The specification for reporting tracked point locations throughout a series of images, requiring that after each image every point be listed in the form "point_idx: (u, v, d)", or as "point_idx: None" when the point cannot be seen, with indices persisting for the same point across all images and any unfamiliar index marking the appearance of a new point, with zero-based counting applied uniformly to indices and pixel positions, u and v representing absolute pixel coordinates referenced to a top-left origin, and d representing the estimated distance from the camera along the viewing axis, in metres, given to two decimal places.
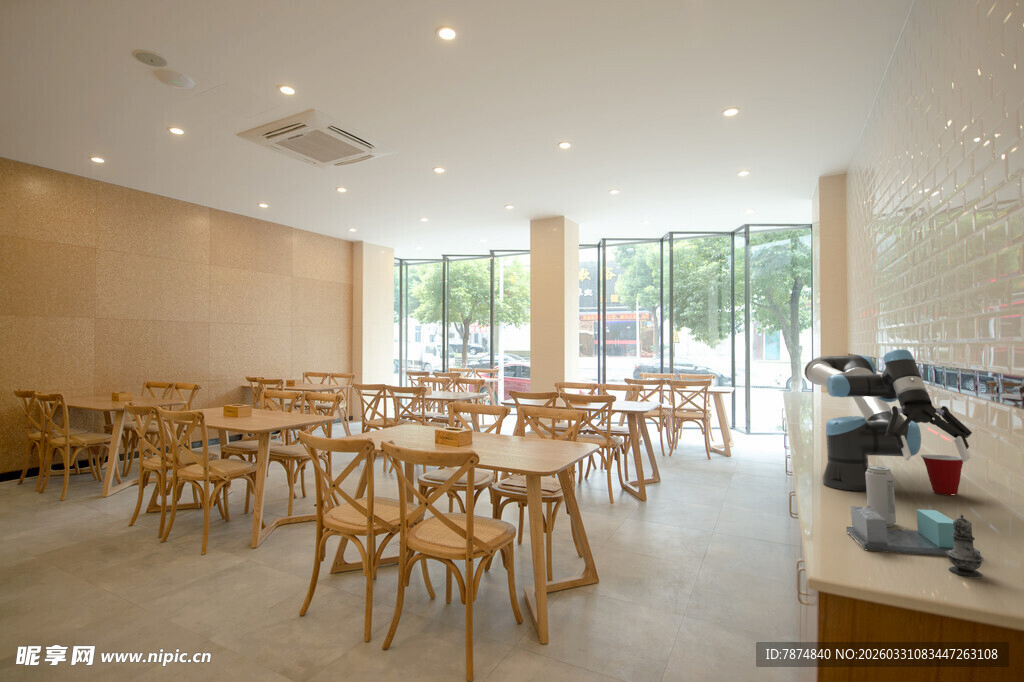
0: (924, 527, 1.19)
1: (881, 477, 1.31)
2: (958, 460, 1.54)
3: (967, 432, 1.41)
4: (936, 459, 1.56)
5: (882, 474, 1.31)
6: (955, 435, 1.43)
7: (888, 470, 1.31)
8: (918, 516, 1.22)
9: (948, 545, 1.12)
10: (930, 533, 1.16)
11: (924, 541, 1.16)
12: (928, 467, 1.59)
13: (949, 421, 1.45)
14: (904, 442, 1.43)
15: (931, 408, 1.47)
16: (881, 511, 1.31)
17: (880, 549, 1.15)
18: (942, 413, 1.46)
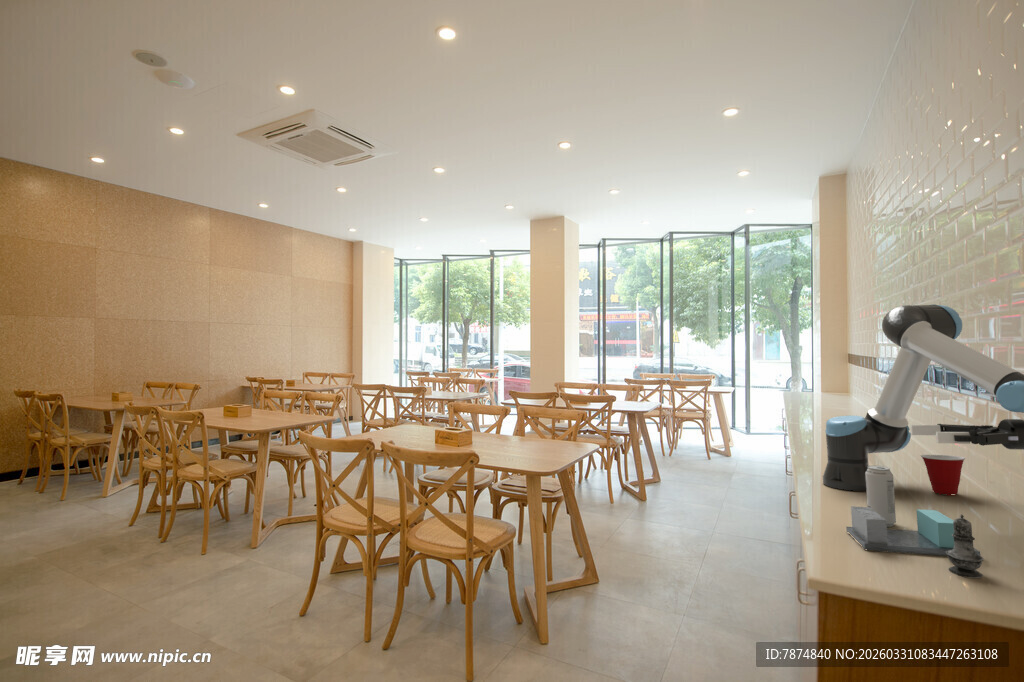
0: (924, 527, 1.19)
1: (881, 477, 1.31)
2: (958, 460, 1.54)
3: None
4: (935, 459, 1.56)
5: (882, 474, 1.31)
6: None
7: (888, 470, 1.31)
8: (918, 516, 1.22)
9: (948, 545, 1.12)
10: (930, 533, 1.16)
11: (924, 541, 1.16)
12: (928, 467, 1.59)
13: None
14: None
15: None
16: (881, 511, 1.31)
17: (880, 549, 1.15)
18: None
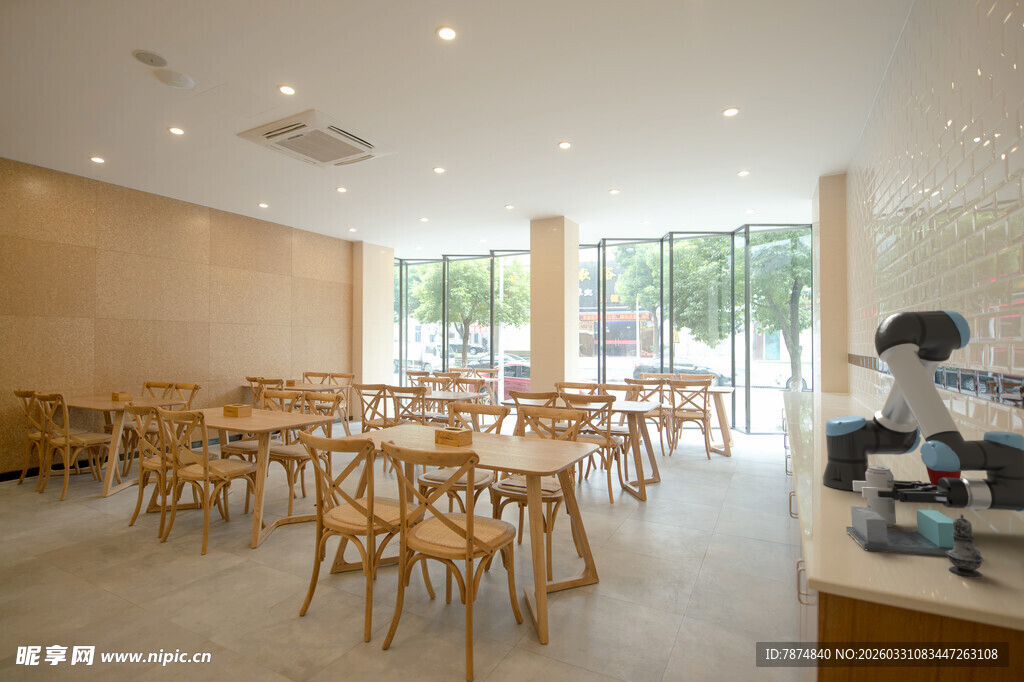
0: (924, 527, 1.19)
1: (881, 477, 1.31)
2: None
3: None
4: None
5: (882, 474, 1.31)
6: None
7: (888, 470, 1.31)
8: (918, 516, 1.22)
9: (948, 545, 1.12)
10: (930, 533, 1.16)
11: (924, 541, 1.16)
12: None
13: None
14: None
15: None
16: (881, 511, 1.31)
17: (880, 549, 1.15)
18: (916, 488, 1.35)
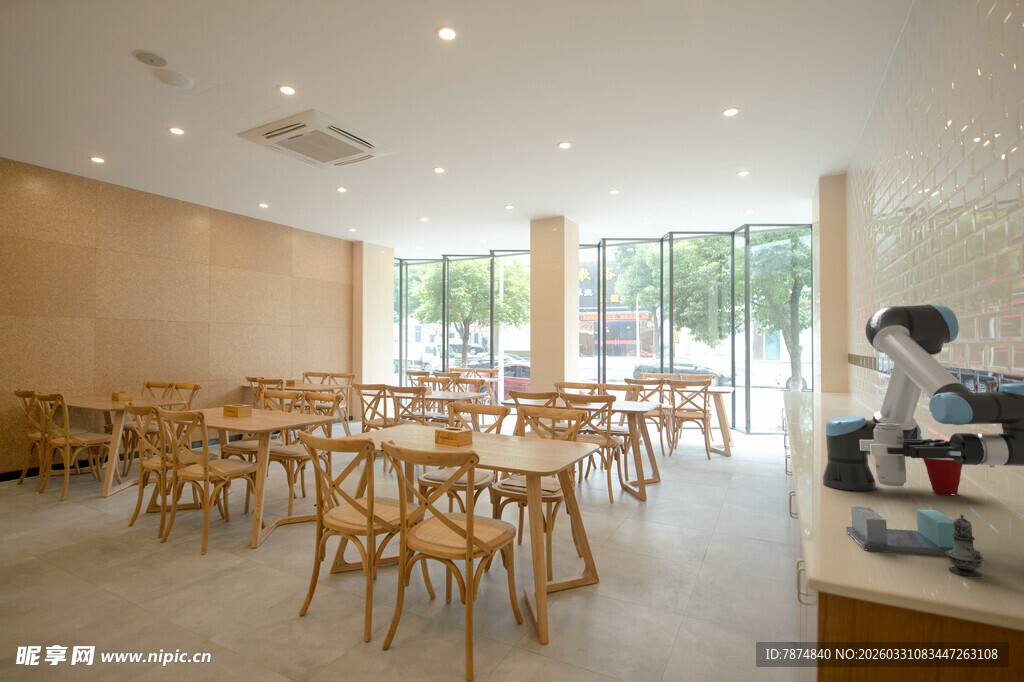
0: (924, 527, 1.19)
1: (891, 433, 1.23)
2: None
3: None
4: (936, 459, 1.56)
5: (892, 430, 1.23)
6: None
7: (898, 426, 1.23)
8: (918, 516, 1.22)
9: (948, 545, 1.12)
10: (930, 533, 1.16)
11: (924, 541, 1.16)
12: (928, 467, 1.59)
13: None
14: (891, 455, 1.22)
15: None
16: (891, 469, 1.23)
17: (880, 549, 1.15)
18: None
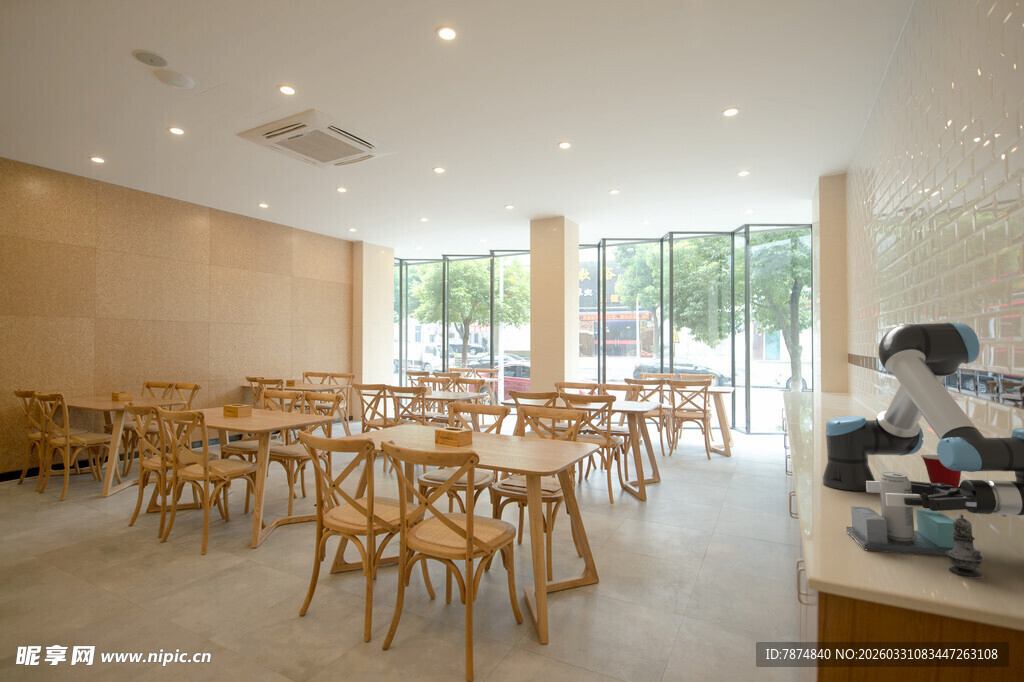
0: (924, 527, 1.19)
1: (898, 485, 1.17)
2: None
3: None
4: (936, 459, 1.56)
5: (899, 482, 1.17)
6: None
7: (905, 477, 1.18)
8: (918, 516, 1.22)
9: (948, 545, 1.12)
10: (930, 533, 1.16)
11: (924, 541, 1.16)
12: (928, 467, 1.59)
13: None
14: (909, 506, 1.14)
15: None
16: (898, 523, 1.17)
17: (880, 549, 1.15)
18: None
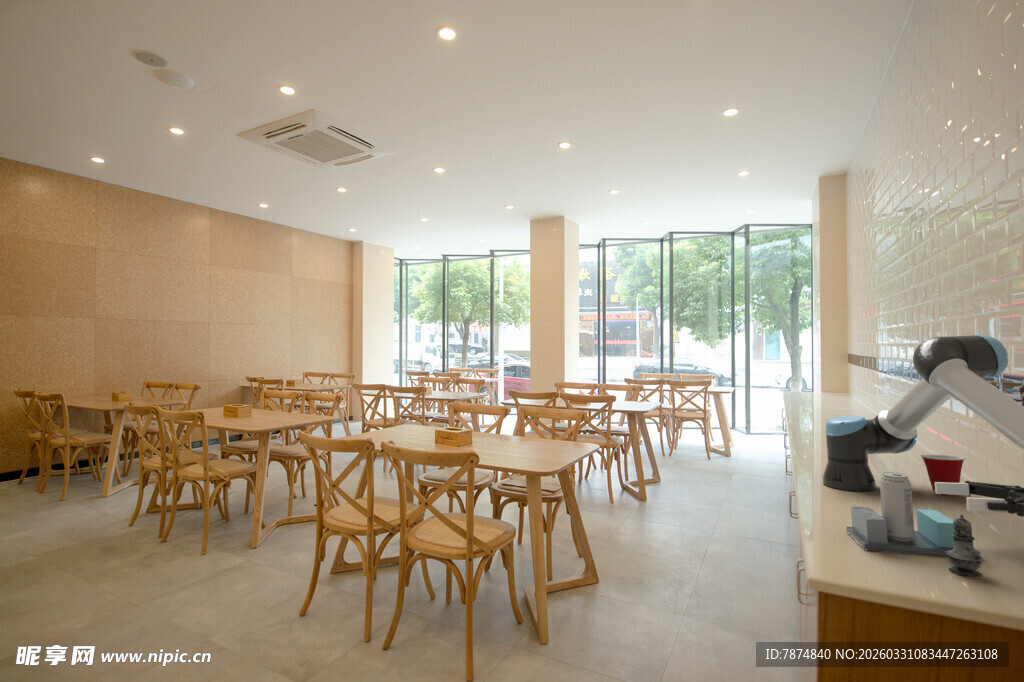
0: (924, 527, 1.19)
1: (898, 485, 1.17)
2: (958, 460, 1.54)
3: None
4: (936, 459, 1.56)
5: (899, 482, 1.17)
6: None
7: (905, 478, 1.17)
8: (918, 516, 1.22)
9: (948, 545, 1.12)
10: (930, 533, 1.16)
11: (924, 541, 1.16)
12: (928, 467, 1.59)
13: None
14: None
15: None
16: (898, 523, 1.17)
17: (880, 549, 1.15)
18: None
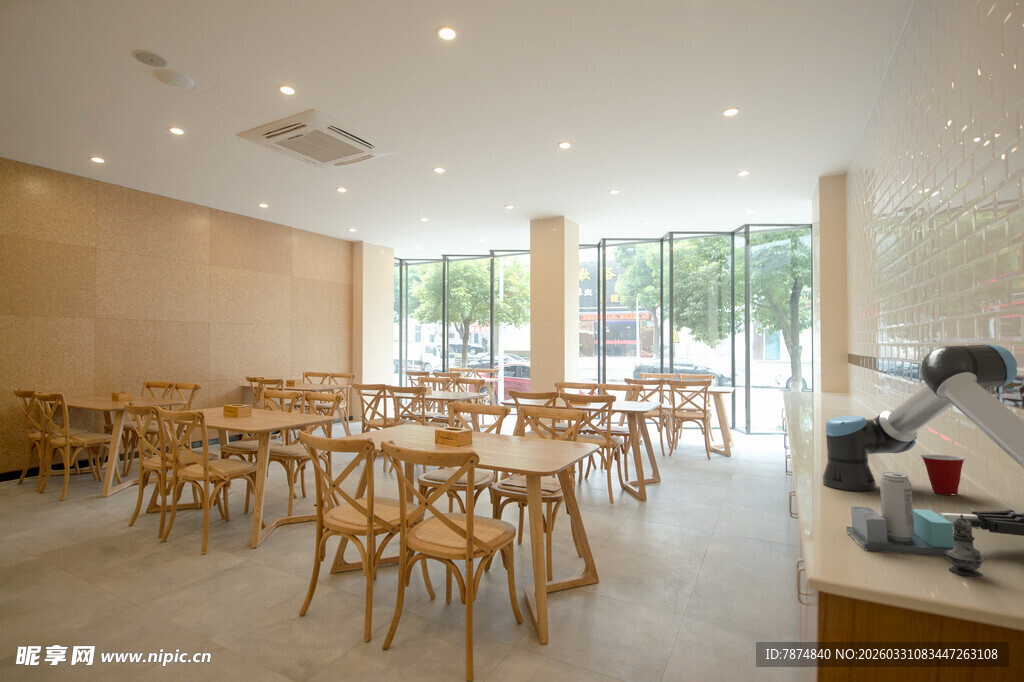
0: (918, 527, 1.19)
1: (898, 485, 1.17)
2: (958, 460, 1.54)
3: None
4: (936, 459, 1.56)
5: (899, 482, 1.17)
6: None
7: (905, 478, 1.18)
8: None
9: (941, 545, 1.12)
10: (924, 533, 1.17)
11: (924, 541, 1.16)
12: (928, 467, 1.59)
13: None
14: None
15: None
16: (898, 523, 1.17)
17: (880, 549, 1.15)
18: None
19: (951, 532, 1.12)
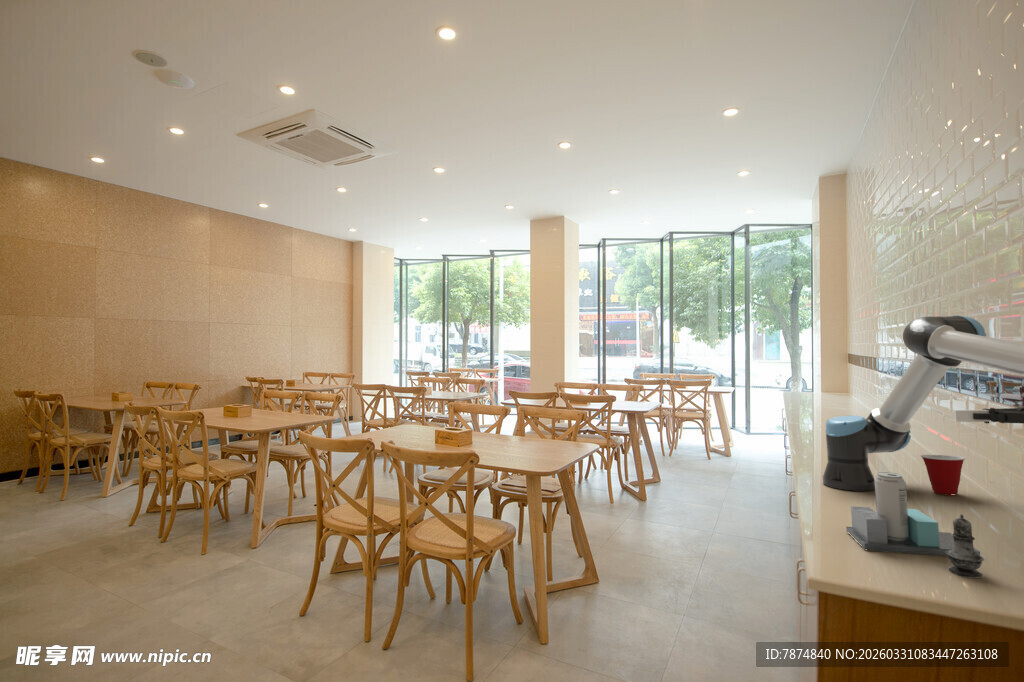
0: None
1: (893, 485, 1.17)
2: (958, 460, 1.54)
3: None
4: (935, 459, 1.56)
5: (894, 482, 1.17)
6: None
7: (900, 477, 1.18)
8: None
9: (927, 544, 1.13)
10: (910, 532, 1.18)
11: None
12: (928, 467, 1.59)
13: None
14: None
15: None
16: (892, 523, 1.17)
17: (880, 549, 1.15)
18: None
19: (936, 531, 1.13)
